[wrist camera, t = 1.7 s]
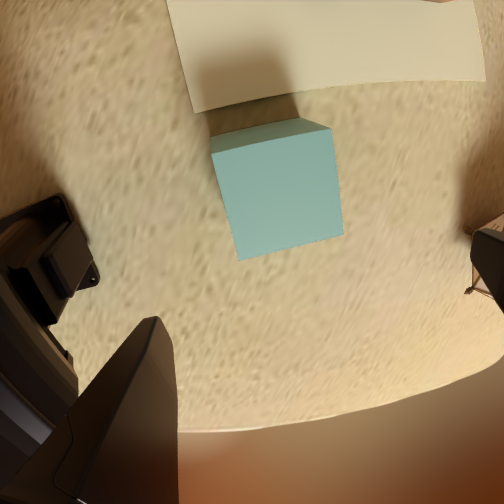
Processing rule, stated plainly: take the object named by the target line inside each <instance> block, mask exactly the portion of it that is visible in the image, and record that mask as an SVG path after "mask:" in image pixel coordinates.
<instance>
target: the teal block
mask: <svg viewBox="0 0 504 504" xmlns="http://www.w3.org/2000/svg"><path fill="white" fill-rule="evenodd" d="M211 156H212V160H213V164H214V168H215V171H216V175H217V179H218V183H219V187H220V190H221V194H222V198H223V202H224V206H225V209H226V213H227V217H228V221H229V224H230V228H231V232H232V235H233V239H234V243H235V247H236V250H237V254H238V258H239V261H241V260H245V259H249V258H253V257H257V256H261V255H265V254H269V253H273V252H277V251H281V250H285V249H289V248H293V247H297V246H301V245H305V244H309V243H313V242H317V241H321V240H325V239H329V238H332V237H336V236H340V235H344V232H343V220H342V210H341V200H340V191H339V182H338V173H337V165H336V158H335V150H334V143H333V136H332V130H331V128H328V127H325V126H323V125H320V124H317V123H314V122H312V121H309V120H306V119H303V118H294V119H289V120H283V121H278V122H273V123H268V124H263V125H259V126H254V127H250V128H245V129H241V130H236V131H232V132H228V133H224V134H220V135H216V136H212V137H211Z"/></svg>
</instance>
